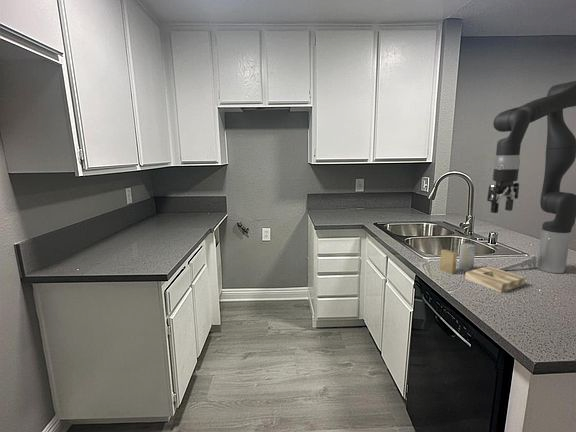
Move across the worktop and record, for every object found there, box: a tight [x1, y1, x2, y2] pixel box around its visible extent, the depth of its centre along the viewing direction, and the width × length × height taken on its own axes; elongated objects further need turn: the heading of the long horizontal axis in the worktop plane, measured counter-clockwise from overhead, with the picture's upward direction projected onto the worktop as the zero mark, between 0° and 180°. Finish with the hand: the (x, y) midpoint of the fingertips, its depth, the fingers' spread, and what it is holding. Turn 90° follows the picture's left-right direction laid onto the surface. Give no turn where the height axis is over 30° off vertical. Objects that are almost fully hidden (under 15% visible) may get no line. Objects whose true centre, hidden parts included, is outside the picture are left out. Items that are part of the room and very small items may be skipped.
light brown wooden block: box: [439, 249, 458, 275], centre depth 131 cm, size 2×6×9 cm, turn 24°
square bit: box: [458, 242, 476, 272], centre depth 133 cm, size 4×4×11 cm
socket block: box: [464, 265, 526, 293], centre depth 120 cm, size 14×14×3 cm
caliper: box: [496, 254, 538, 271], centre depth 131 cm, size 20×1×6 cm, turn 99°
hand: (501, 211), depth 115 cm, fingers open, 8 cm apart
